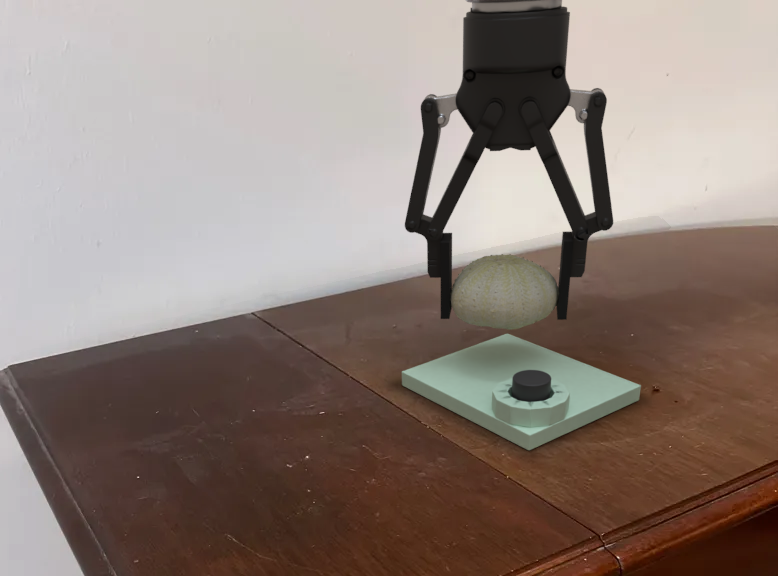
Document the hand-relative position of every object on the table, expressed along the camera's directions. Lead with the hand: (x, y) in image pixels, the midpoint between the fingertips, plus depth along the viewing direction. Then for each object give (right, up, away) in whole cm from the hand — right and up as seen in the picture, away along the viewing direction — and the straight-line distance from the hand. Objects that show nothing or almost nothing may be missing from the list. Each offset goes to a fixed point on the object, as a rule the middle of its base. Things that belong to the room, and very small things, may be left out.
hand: (503, 313), depth 71 cm
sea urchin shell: (0, 0, 0) cm, 0 cm away
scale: (+1, -7, 0) cm, 7 cm away
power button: (+1, -8, -6) cm, 10 cm away
